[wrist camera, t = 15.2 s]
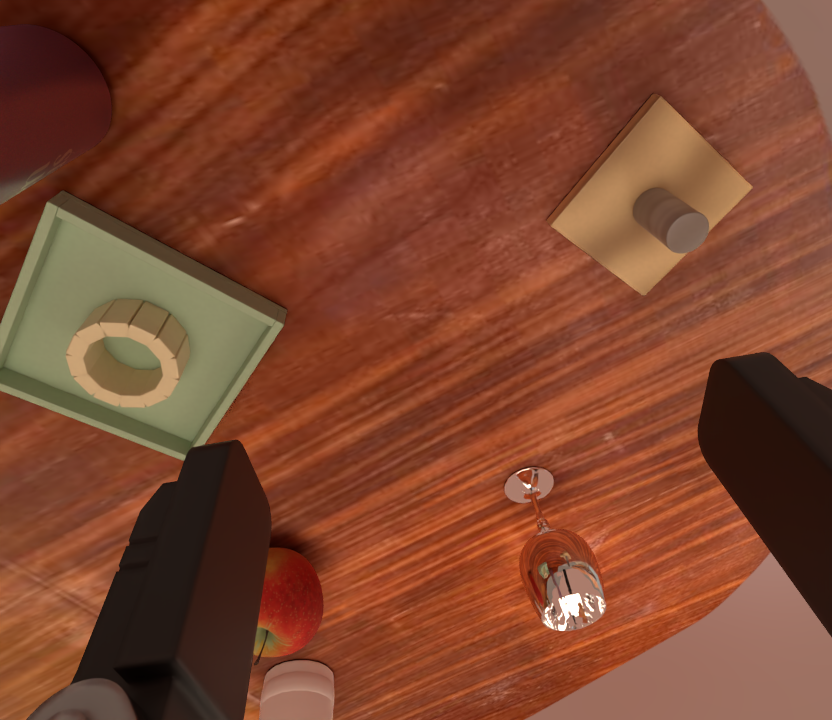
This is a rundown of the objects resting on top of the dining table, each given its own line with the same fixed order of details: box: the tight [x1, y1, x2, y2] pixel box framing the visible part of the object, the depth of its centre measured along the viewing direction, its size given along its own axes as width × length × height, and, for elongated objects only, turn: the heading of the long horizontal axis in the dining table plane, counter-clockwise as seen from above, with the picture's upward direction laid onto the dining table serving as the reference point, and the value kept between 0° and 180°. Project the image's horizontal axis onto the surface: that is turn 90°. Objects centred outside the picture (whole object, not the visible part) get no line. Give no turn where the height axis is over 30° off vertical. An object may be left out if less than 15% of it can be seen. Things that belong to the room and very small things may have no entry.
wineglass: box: [504, 467, 606, 631], centre depth 44 cm, size 6×6×12 cm
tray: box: [0, 191, 287, 461], centre depth 36 cm, size 14×14×2 cm
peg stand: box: [546, 94, 753, 296], centre depth 33 cm, size 9×9×6 cm
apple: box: [253, 547, 323, 665], centre depth 47 cm, size 8×8×10 cm
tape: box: [66, 299, 190, 408], centre depth 35 cm, size 6×6×3 cm
